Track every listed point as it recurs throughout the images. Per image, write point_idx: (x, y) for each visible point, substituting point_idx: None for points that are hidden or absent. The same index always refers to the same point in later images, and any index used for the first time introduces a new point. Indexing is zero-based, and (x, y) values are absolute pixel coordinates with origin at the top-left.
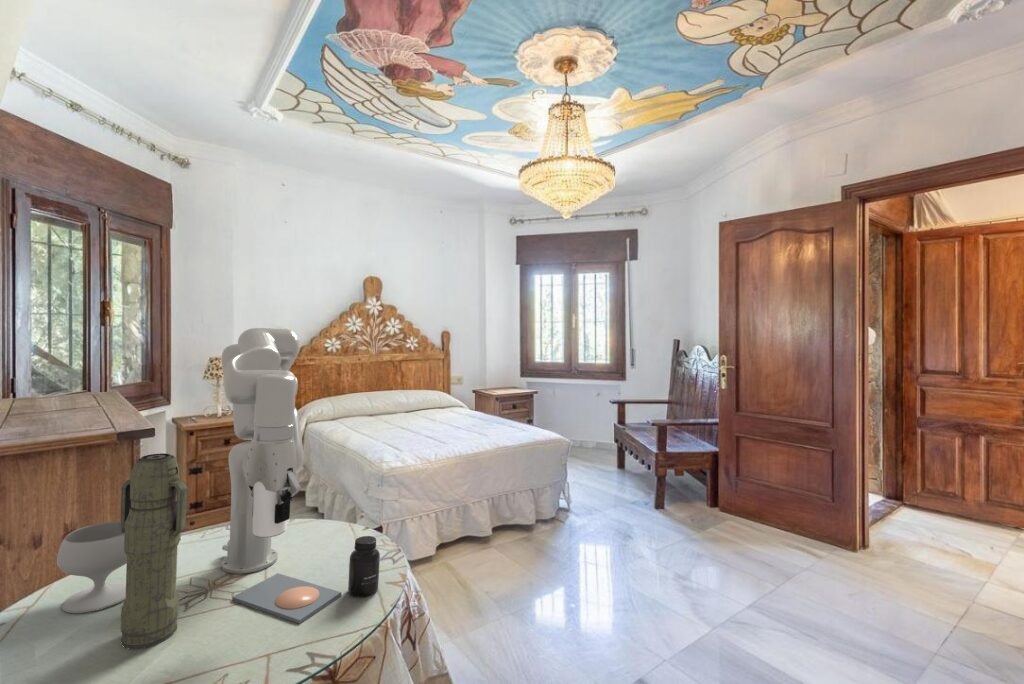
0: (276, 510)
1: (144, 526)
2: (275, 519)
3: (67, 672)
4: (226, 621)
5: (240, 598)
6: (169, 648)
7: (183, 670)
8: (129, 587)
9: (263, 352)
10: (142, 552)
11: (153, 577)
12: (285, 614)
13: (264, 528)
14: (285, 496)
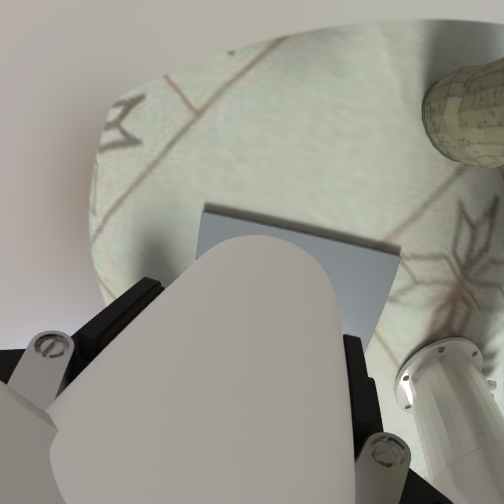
0: (105, 312)
1: None
2: (143, 286)
3: (476, 26)
4: (358, 183)
5: (380, 255)
6: (393, 86)
7: (313, 41)
8: None
9: None
10: None
11: (500, 63)
12: (243, 222)
13: (216, 249)
14: (3, 369)
